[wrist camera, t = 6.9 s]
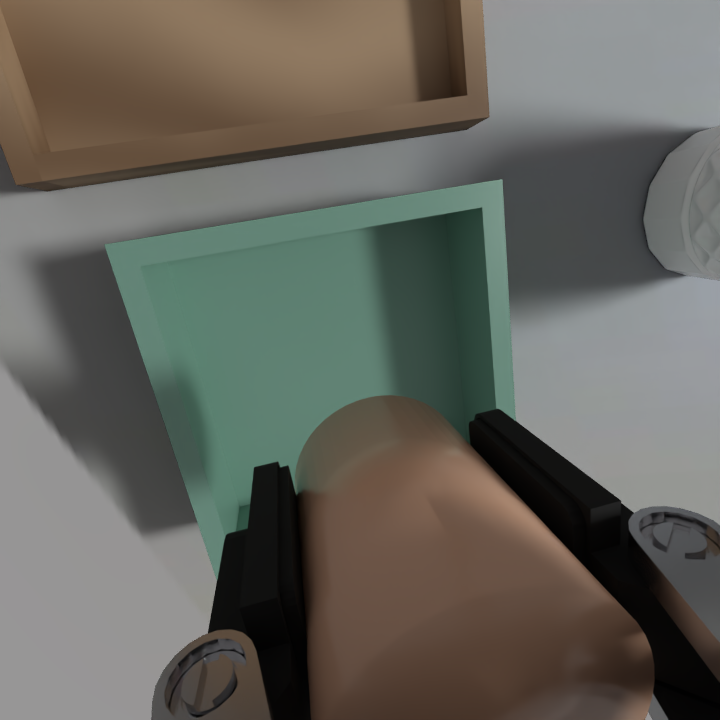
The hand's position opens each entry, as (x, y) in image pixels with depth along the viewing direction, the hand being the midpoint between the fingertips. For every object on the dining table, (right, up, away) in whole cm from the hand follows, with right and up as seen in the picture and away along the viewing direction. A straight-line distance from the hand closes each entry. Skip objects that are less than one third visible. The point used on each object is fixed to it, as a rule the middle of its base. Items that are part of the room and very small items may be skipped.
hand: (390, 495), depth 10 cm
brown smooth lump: (0, 0, +1) cm, 1 cm away
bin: (-2, +3, +9) cm, 10 cm away
